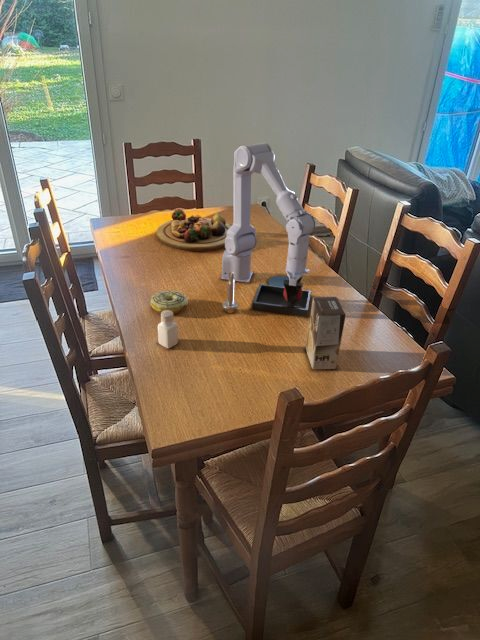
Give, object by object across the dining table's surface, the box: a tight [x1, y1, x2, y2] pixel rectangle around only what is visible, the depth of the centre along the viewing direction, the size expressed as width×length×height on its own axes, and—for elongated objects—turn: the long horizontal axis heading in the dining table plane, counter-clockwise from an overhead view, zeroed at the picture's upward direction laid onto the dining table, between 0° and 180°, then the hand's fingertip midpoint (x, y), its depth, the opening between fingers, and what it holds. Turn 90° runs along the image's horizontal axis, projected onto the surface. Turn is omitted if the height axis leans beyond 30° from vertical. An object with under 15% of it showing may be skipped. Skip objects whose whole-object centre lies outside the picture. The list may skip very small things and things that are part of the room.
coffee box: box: [305, 296, 347, 370], centre depth 117 cm, size 9×6×16 cm
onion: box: [283, 287, 303, 304], centre depth 142 cm, size 6×6×8 cm
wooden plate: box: [155, 208, 232, 252], centre depth 186 cm, size 32×32×8 cm
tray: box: [251, 283, 312, 318], centre depth 145 cm, size 17×13×2 cm
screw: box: [221, 272, 239, 314], centre depth 136 cm, size 13×5×5 cm
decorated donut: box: [150, 290, 189, 315], centre depth 139 cm, size 10×11×4 cm
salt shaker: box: [157, 310, 179, 349], centre depth 122 cm, size 4×4×10 cm
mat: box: [267, 275, 289, 287], centre depth 156 cm, size 10×10×1 cm
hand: (292, 296), depth 143 cm, fingers open, 7 cm apart
